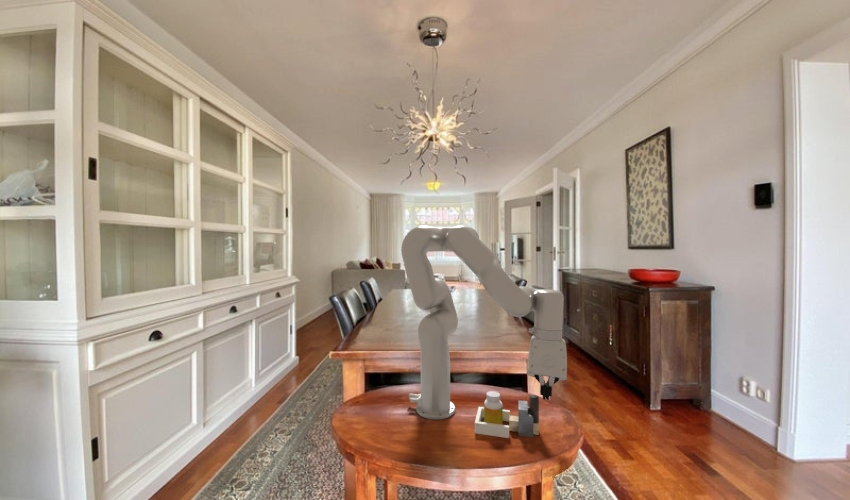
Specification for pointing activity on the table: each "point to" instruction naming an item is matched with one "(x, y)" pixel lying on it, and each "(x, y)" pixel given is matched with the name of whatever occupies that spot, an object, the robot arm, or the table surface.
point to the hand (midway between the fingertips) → (545, 397)
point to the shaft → (532, 411)
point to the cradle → (492, 425)
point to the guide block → (524, 420)
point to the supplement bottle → (493, 408)
